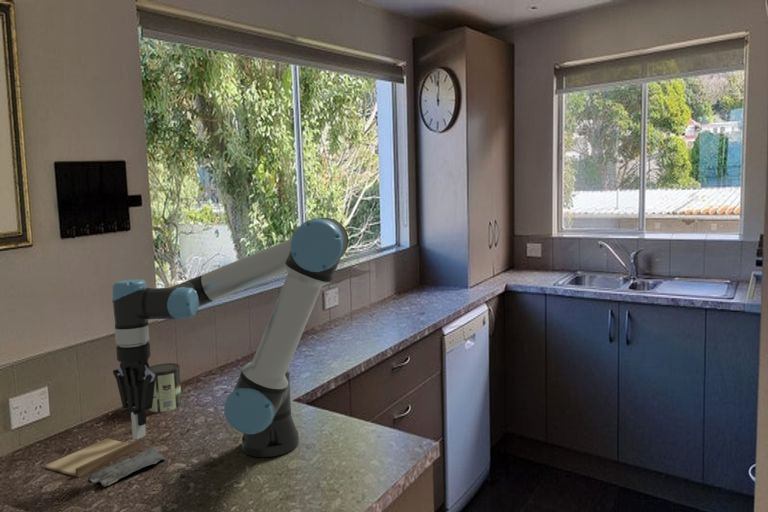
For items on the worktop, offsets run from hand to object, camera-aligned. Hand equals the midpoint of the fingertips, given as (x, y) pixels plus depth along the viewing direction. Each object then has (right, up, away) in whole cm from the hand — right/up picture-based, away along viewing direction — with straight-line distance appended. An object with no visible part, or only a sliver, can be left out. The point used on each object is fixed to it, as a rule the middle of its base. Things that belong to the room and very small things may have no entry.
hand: (139, 436), depth 141 cm
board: (-16, -8, +9) cm, 20 cm away
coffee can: (-10, -5, +42) cm, 44 cm away
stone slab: (-7, -8, +4) cm, 12 cm away
